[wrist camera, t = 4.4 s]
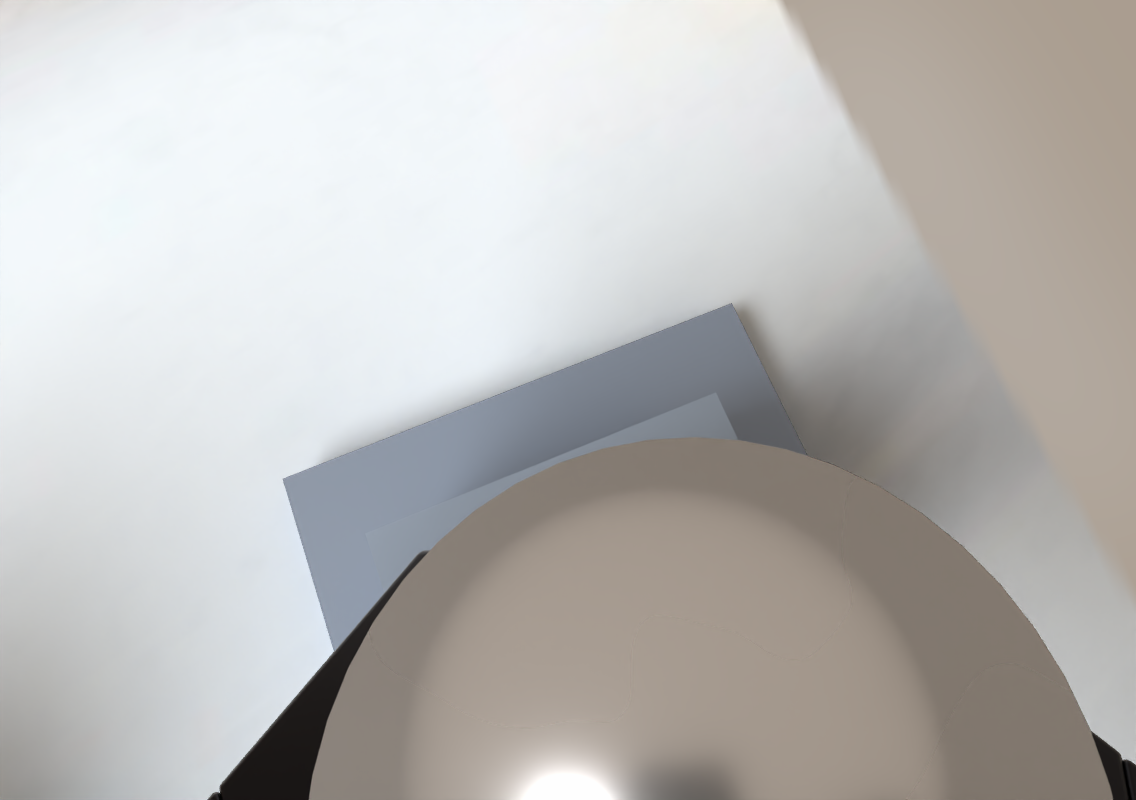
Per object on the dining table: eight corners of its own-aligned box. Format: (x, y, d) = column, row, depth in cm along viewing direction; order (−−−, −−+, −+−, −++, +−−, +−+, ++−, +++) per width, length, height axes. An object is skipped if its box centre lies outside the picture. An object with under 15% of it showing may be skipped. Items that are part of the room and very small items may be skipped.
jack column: (742, 685, 14) (1309, 1123, 3) (552, 770, 13) (464, 1586, 3) (659, 494, 15) (876, 334, 4) (479, 569, 14) (212, 604, 4)
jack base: (946, 770, 15) (1126, 874, 10) (456, 999, 14) (392, 1236, 9) (722, 317, 18) (779, 225, 13) (300, 483, 17) (185, 453, 12)
